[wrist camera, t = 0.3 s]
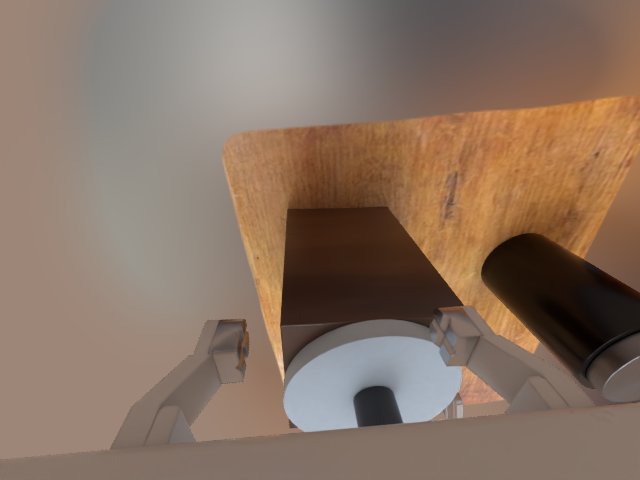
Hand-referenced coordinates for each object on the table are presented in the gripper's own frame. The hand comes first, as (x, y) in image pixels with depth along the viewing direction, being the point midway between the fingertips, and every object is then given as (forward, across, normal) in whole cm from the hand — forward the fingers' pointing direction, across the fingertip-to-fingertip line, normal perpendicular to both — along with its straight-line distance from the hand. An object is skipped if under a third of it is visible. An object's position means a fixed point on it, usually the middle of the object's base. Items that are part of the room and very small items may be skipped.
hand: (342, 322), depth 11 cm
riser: (+18, -2, +8) cm, 20 cm away
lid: (+2, -2, +8) cm, 9 cm away
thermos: (+18, -26, +11) cm, 34 cm away
